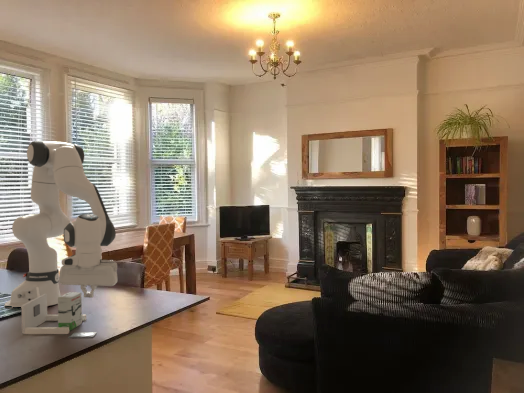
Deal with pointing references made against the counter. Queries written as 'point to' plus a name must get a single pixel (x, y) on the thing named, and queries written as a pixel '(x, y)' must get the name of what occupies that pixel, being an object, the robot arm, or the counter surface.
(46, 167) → the robot arm
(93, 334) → the picture frame
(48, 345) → the counter surface
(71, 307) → the ink box
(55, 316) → the dock
